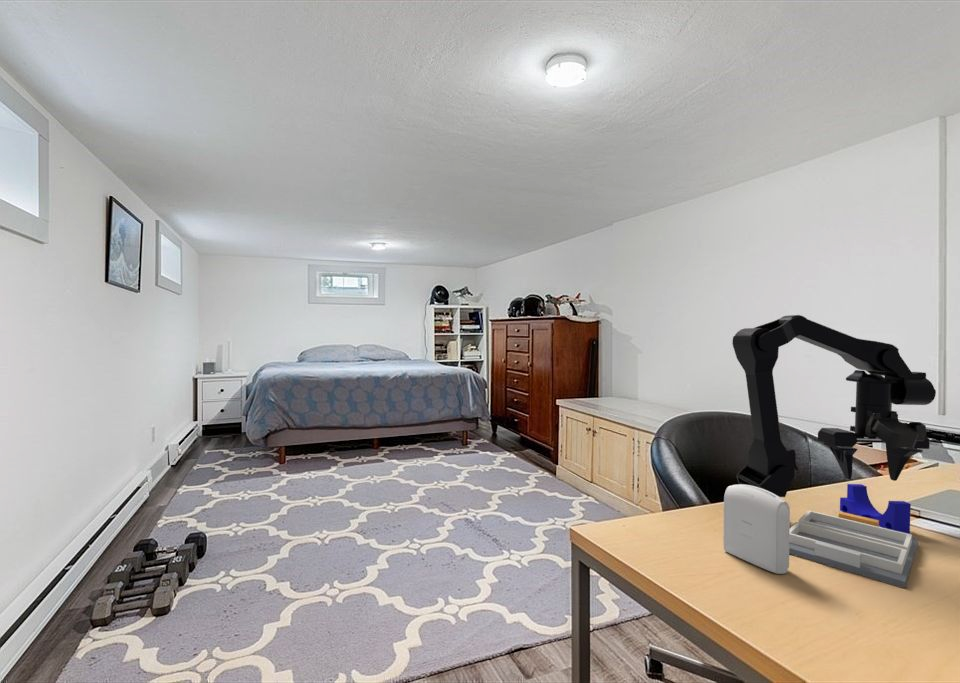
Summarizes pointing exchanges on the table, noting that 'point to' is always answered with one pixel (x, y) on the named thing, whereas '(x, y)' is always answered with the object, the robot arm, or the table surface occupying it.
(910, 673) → the table surface
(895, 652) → the table surface
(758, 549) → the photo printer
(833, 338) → the robot arm
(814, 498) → the table surface
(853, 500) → the blue curved cradle
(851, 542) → the dock board
